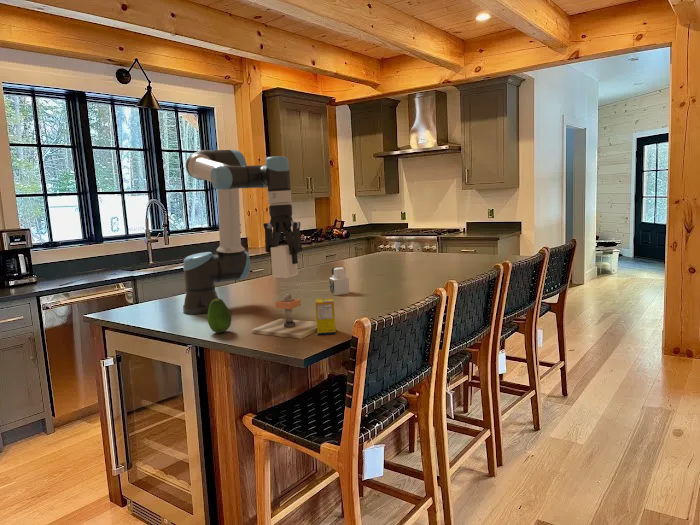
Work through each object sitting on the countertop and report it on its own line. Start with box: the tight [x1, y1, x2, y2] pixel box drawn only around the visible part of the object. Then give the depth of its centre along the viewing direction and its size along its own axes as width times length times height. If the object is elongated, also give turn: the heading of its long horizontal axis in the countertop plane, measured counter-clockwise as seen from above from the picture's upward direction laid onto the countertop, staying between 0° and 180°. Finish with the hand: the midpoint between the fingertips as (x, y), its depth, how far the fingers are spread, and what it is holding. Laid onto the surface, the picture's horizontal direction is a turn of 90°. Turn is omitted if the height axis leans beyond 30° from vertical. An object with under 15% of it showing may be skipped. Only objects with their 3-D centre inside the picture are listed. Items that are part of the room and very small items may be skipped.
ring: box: [275, 298, 302, 310], centre depth 177 cm, size 6×6×2 cm
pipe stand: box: [251, 293, 317, 340], centre depth 178 cm, size 20×16×12 cm
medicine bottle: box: [329, 266, 350, 296], centre depth 237 cm, size 7×7×12 cm
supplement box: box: [315, 297, 337, 336], centre depth 172 cm, size 6×6×11 cm
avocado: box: [206, 297, 232, 334], centre depth 178 cm, size 8×8×12 cm
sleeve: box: [270, 245, 299, 279], centre depth 175 cm, size 6×6×10 cm
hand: (285, 273), depth 176 cm, fingers closed on sleeve, 6 cm apart
